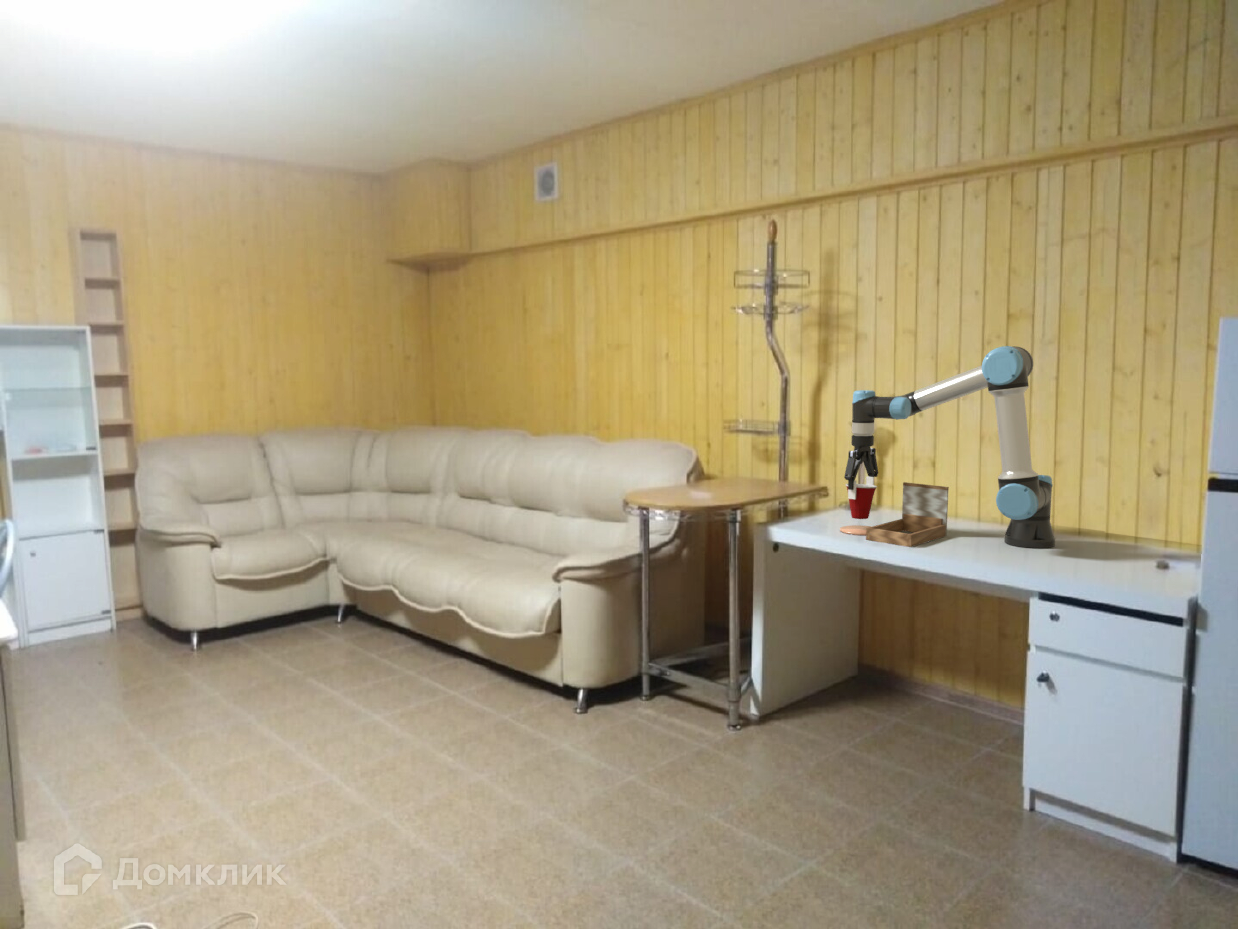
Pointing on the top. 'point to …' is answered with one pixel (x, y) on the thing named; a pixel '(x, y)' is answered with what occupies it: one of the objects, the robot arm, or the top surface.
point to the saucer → (854, 530)
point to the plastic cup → (862, 501)
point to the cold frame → (916, 517)
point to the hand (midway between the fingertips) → (861, 496)
